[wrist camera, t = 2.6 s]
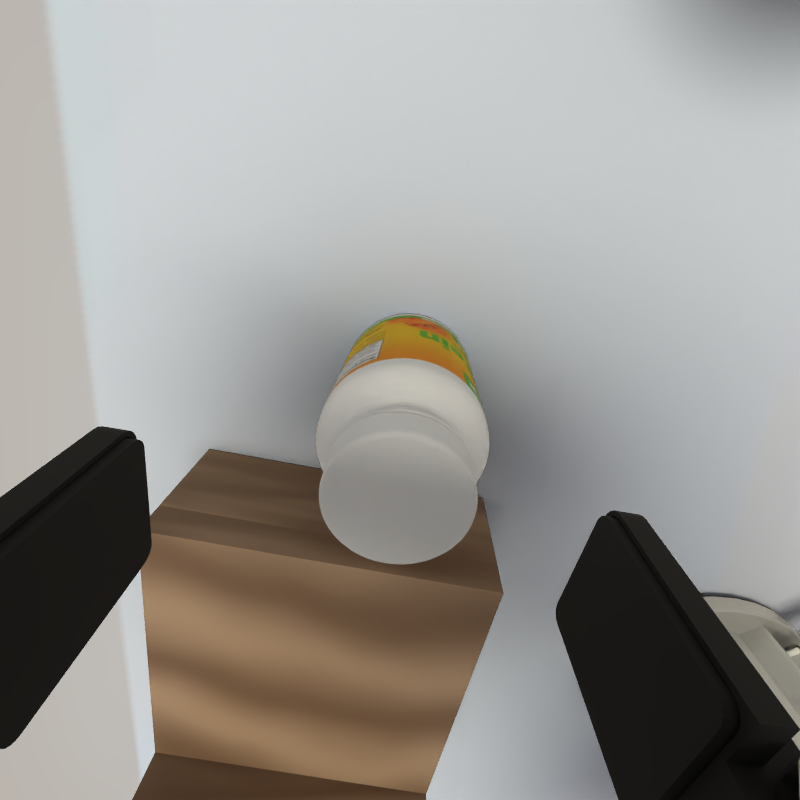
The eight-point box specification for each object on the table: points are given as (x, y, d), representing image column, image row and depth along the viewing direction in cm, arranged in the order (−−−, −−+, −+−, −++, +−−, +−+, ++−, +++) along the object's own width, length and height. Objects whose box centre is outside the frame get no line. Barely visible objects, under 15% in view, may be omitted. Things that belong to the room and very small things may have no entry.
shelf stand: (209, 449, 22) (-98, 796, 9) (482, 498, 22) (569, 895, 9) (208, 659, 28) (30, 1037, 15) (420, 693, 29) (420, 1088, 16)
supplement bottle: (493, 374, 19) (554, 513, 11) (405, 444, 21) (393, 615, 12) (411, 284, 18) (403, 356, 9) (324, 367, 20) (245, 496, 11)
